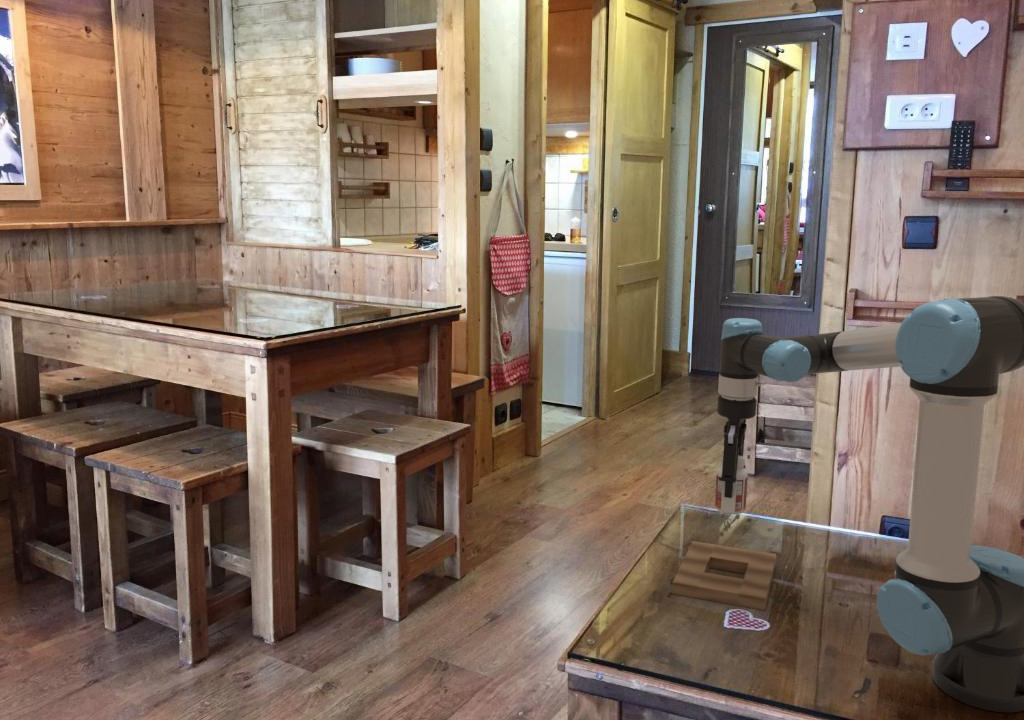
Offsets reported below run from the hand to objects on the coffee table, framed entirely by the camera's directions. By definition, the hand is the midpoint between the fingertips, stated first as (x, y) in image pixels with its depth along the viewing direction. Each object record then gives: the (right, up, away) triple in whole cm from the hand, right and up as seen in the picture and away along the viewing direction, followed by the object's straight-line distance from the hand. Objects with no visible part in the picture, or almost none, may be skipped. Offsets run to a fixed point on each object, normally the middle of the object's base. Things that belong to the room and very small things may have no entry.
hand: (730, 505), depth 179 cm
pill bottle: (0, -1, 0) cm, 1 cm away
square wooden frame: (0, -16, +3) cm, 16 cm away
